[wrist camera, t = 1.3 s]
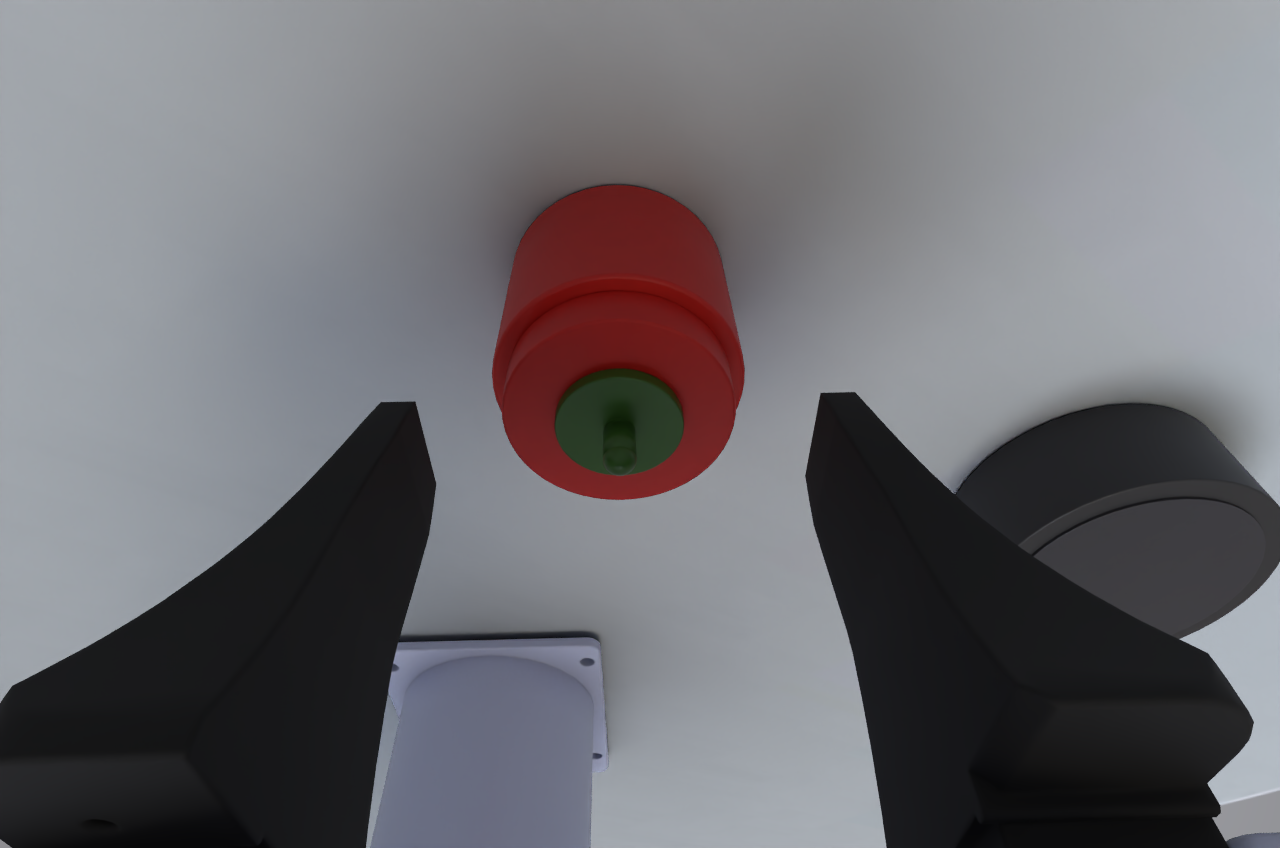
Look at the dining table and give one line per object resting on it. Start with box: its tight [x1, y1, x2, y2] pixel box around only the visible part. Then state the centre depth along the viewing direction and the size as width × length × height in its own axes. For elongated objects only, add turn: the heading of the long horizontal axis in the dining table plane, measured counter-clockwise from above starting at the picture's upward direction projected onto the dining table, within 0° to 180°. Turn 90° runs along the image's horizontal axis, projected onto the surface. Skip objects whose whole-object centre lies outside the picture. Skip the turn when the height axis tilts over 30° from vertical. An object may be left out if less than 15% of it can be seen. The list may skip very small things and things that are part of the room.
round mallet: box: [956, 404, 1280, 639], centre depth 28 cm, size 26×8×3 cm, turn 0°
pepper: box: [492, 185, 745, 500], centre depth 16 cm, size 5×5×6 cm
